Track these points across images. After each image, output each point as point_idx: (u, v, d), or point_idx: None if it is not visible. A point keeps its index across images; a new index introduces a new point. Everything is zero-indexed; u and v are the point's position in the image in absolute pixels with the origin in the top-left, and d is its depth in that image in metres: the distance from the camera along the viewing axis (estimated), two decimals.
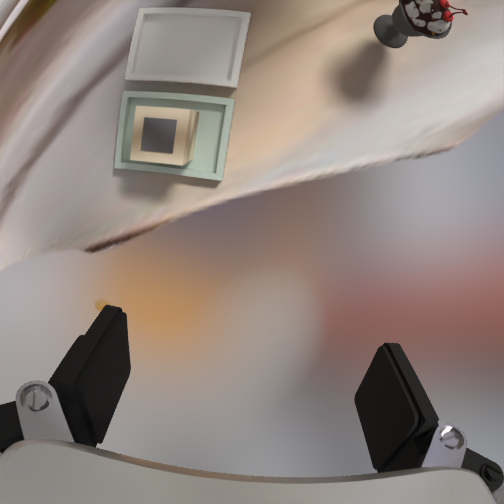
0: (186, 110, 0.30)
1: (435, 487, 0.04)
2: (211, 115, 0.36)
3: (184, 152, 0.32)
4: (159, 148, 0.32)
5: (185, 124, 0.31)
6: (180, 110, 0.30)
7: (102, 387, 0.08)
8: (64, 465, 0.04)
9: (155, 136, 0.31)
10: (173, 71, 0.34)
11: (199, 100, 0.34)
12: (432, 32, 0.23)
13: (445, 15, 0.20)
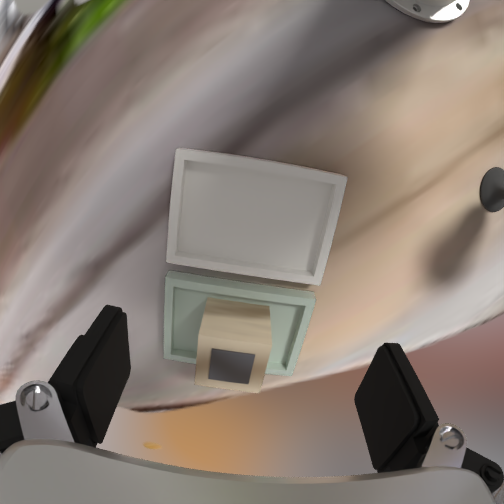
0: (267, 345, 0.25)
1: (435, 487, 0.04)
2: (284, 310, 0.31)
3: None
4: (232, 379, 0.27)
5: (266, 359, 0.26)
6: (259, 345, 0.25)
7: (102, 387, 0.08)
8: (64, 465, 0.04)
9: (227, 368, 0.26)
10: (234, 253, 0.29)
11: (272, 300, 0.29)
12: None
13: None
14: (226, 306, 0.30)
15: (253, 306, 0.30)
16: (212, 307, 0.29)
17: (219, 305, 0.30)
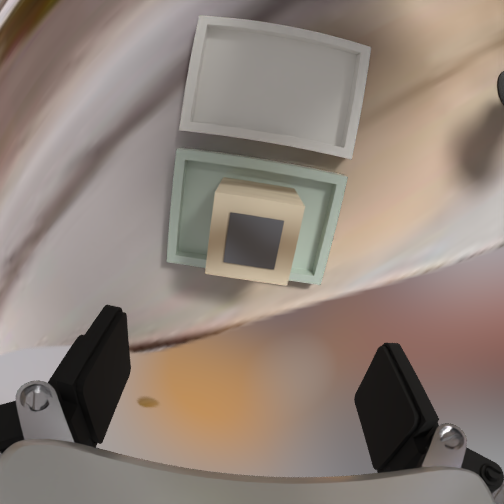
0: (299, 207, 0.21)
1: (435, 487, 0.04)
2: (311, 195, 0.27)
3: None
4: (254, 261, 0.22)
5: (297, 228, 0.22)
6: (289, 206, 0.21)
7: (102, 387, 0.08)
8: (64, 465, 0.04)
9: (248, 243, 0.22)
10: (255, 123, 0.25)
11: (298, 175, 0.25)
12: None
13: None
14: (245, 182, 0.25)
15: (276, 186, 0.26)
16: (229, 181, 0.25)
17: (237, 181, 0.25)
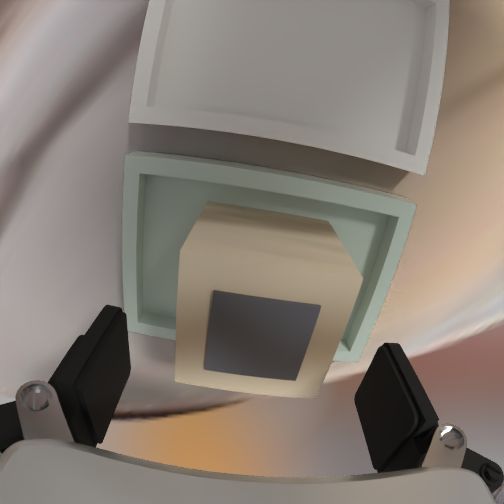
0: (352, 280, 0.10)
1: (435, 487, 0.04)
2: (354, 231, 0.16)
3: None
4: (261, 371, 0.12)
5: (343, 317, 0.11)
6: (334, 279, 0.10)
7: (102, 387, 0.08)
8: (64, 464, 0.04)
9: (249, 344, 0.11)
10: (263, 107, 0.14)
11: (338, 200, 0.14)
12: None
13: None
14: (246, 213, 0.14)
15: (299, 218, 0.15)
16: (216, 213, 0.14)
17: (231, 211, 0.14)
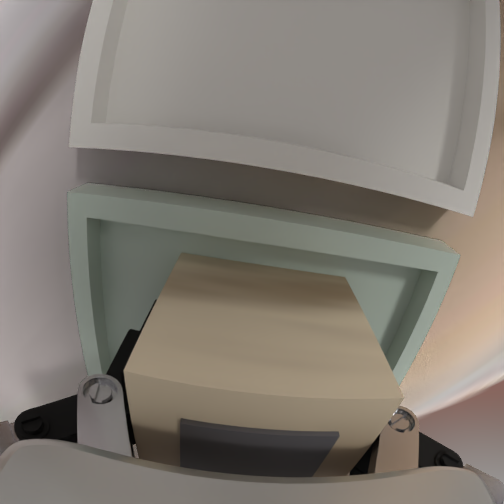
0: (388, 402, 0.06)
1: (435, 487, 0.04)
2: (378, 288, 0.12)
3: None
4: None
5: (368, 438, 0.07)
6: (362, 403, 0.06)
7: None
8: (64, 465, 0.04)
9: (236, 470, 0.07)
10: (257, 119, 0.10)
11: (362, 254, 0.10)
12: None
13: None
14: (232, 275, 0.10)
15: (306, 276, 0.11)
16: (190, 277, 0.10)
17: (212, 272, 0.10)
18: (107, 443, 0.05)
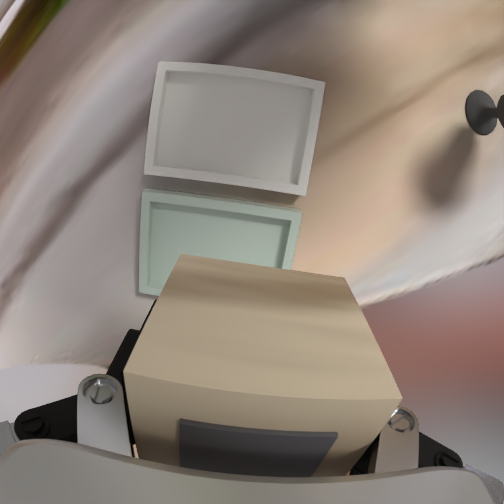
0: (387, 402, 0.06)
1: (435, 487, 0.04)
2: (268, 230, 0.29)
3: None
4: None
5: (367, 439, 0.07)
6: (361, 404, 0.06)
7: None
8: (63, 465, 0.04)
9: (236, 470, 0.07)
10: (214, 164, 0.27)
11: (254, 213, 0.27)
12: None
13: None
14: (232, 276, 0.10)
15: (305, 276, 0.11)
16: (189, 278, 0.10)
17: (211, 273, 0.10)
18: (107, 443, 0.05)
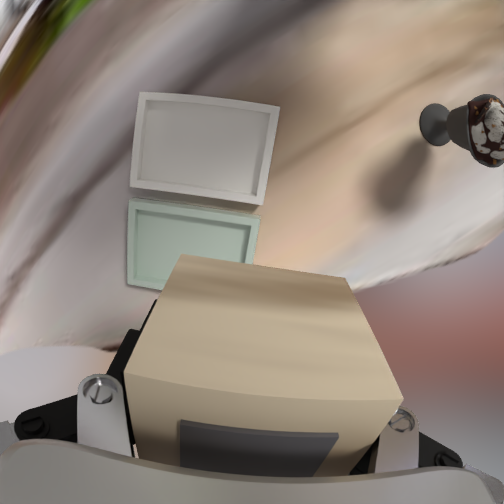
0: (388, 403, 0.06)
1: (435, 487, 0.04)
2: (233, 233, 0.34)
3: None
4: None
5: (368, 439, 0.07)
6: (362, 404, 0.06)
7: None
8: (64, 465, 0.04)
9: (237, 471, 0.07)
10: (187, 178, 0.32)
11: (220, 219, 0.33)
12: (494, 159, 0.21)
13: None
14: (232, 276, 0.10)
15: (306, 277, 0.11)
16: (190, 278, 0.10)
17: (212, 273, 0.10)
18: (107, 443, 0.05)
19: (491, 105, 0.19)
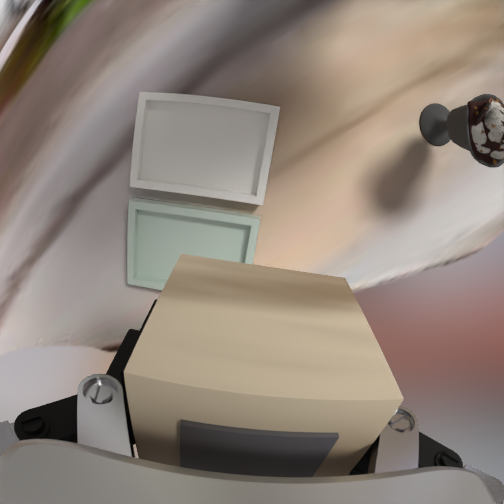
0: (388, 403, 0.06)
1: (435, 487, 0.04)
2: (233, 233, 0.34)
3: None
4: None
5: (368, 439, 0.07)
6: (362, 404, 0.06)
7: None
8: (64, 465, 0.04)
9: (237, 471, 0.07)
10: (187, 178, 0.32)
11: (220, 219, 0.33)
12: (494, 159, 0.21)
13: None
14: (232, 276, 0.10)
15: (306, 277, 0.11)
16: (190, 278, 0.10)
17: (212, 273, 0.10)
18: (107, 443, 0.05)
19: (491, 105, 0.19)
